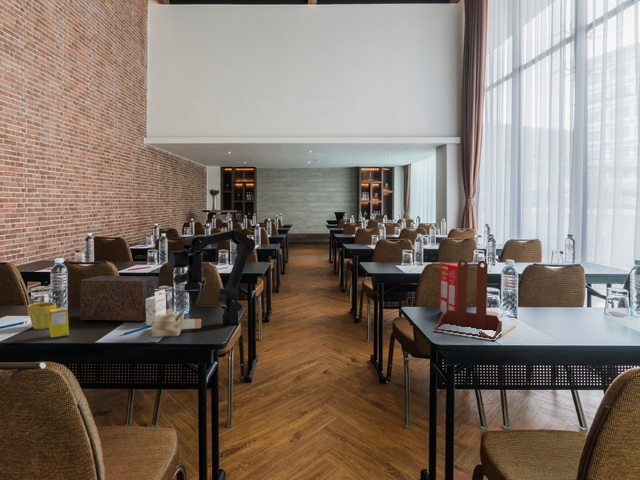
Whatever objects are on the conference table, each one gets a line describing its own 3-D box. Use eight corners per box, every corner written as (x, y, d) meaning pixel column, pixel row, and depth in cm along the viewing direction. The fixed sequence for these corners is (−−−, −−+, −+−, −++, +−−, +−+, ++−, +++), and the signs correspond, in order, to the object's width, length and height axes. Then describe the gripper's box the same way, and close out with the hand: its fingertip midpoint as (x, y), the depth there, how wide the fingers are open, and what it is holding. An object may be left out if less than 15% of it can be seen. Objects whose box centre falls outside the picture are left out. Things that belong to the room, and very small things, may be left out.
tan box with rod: (183, 326, 185) (183, 310, 185) (178, 335, 172) (177, 318, 171) (159, 327, 184) (159, 311, 184) (151, 336, 170) (151, 319, 170)
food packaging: (465, 319, 203) (466, 266, 201) (455, 319, 202) (456, 266, 200) (449, 312, 217) (450, 262, 216) (439, 312, 216) (440, 263, 215)
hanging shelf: (433, 332, 180) (434, 260, 179) (443, 325, 191) (444, 258, 189) (494, 341, 167) (496, 264, 165) (501, 334, 178) (503, 261, 176)
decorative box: (97, 316, 209) (75, 321, 189) (99, 274, 210) (77, 275, 190) (161, 317, 210) (145, 323, 190) (163, 275, 211) (147, 277, 191)
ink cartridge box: (156, 320, 196) (156, 288, 195) (166, 321, 195) (166, 289, 194) (145, 325, 188) (144, 291, 187) (155, 326, 187) (155, 292, 186)
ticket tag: (201, 327, 180) (201, 318, 180) (200, 328, 179) (200, 319, 179) (161, 328, 178) (161, 320, 178) (160, 329, 177) (160, 320, 176)
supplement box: (66, 333, 174) (65, 306, 173) (68, 336, 169) (68, 309, 168) (48, 336, 170) (48, 308, 169) (51, 339, 165) (50, 311, 165)
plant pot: (58, 327, 182) (57, 305, 182) (28, 331, 176) (28, 308, 176) (55, 323, 191) (54, 301, 190) (27, 326, 184) (26, 303, 184)
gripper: (178, 264, 186) (179, 299, 187) (170, 269, 168) (171, 309, 169) (205, 263, 188) (205, 299, 189) (200, 269, 169) (200, 308, 170)
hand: (195, 303), depth 179 cm, fingers open, 9 cm apart
